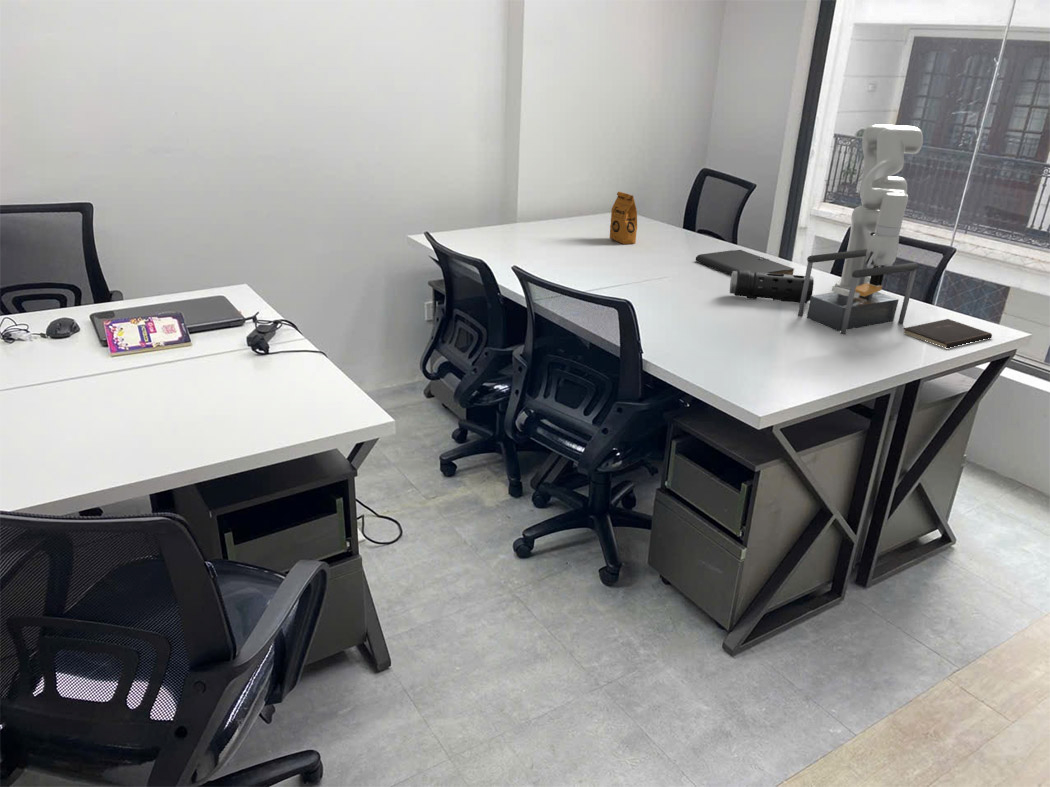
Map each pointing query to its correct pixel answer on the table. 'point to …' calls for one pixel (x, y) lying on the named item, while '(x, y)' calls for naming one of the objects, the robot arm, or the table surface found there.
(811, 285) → the muzzle brake
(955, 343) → the hardcover book
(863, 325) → the box
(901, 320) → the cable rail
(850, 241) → the robot arm
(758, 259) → the file folder
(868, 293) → the paddle
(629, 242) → the coffee package
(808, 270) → the rail
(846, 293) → the set paddle
